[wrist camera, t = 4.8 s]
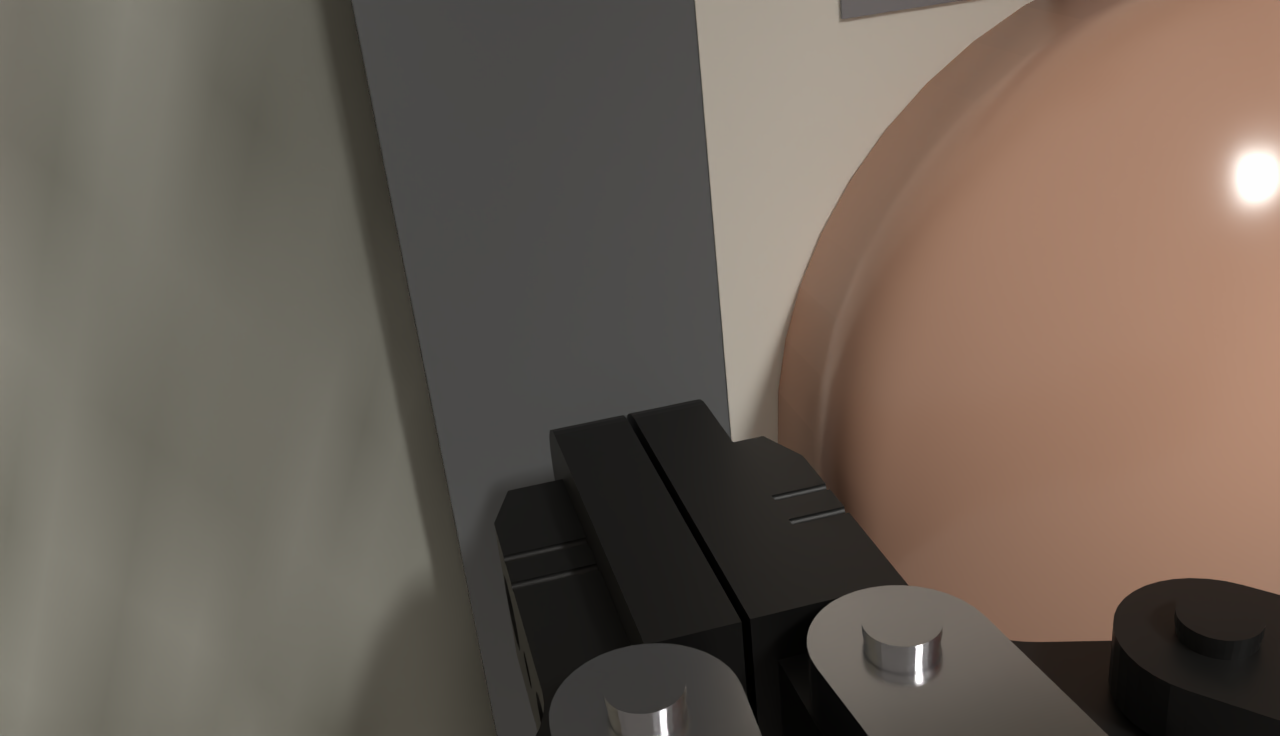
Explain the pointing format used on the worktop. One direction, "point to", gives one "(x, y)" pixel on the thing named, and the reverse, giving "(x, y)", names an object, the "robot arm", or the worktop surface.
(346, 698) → the worktop surface
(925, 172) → the peach domed disc
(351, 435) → the worktop surface
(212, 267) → the worktop surface
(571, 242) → the mat
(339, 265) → the worktop surface
